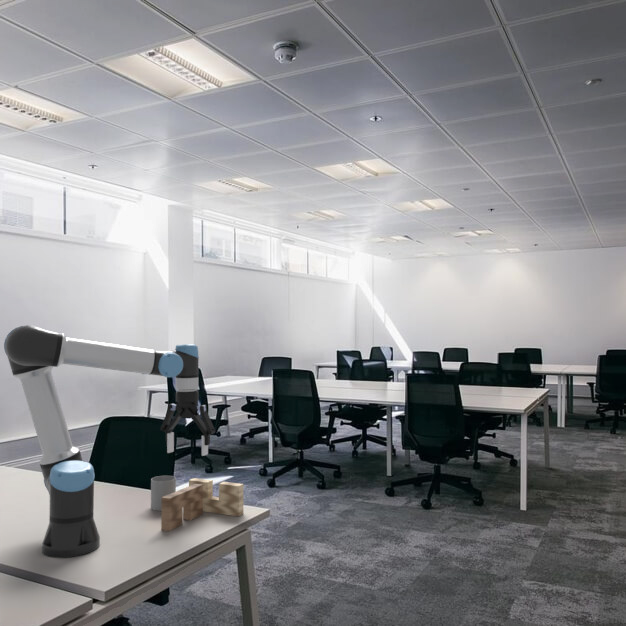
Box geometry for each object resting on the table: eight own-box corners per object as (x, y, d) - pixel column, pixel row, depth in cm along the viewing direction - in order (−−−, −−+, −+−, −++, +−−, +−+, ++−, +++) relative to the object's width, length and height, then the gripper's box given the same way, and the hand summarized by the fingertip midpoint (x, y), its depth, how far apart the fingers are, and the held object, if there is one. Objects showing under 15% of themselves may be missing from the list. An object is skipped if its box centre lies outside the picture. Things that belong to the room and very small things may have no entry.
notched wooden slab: (243, 513, 199) (243, 484, 199) (238, 516, 196) (238, 486, 197) (193, 506, 207) (194, 478, 207) (188, 509, 204) (188, 480, 205)
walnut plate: (195, 513, 199) (195, 483, 200) (202, 514, 198) (202, 484, 198) (161, 529, 183) (161, 497, 183) (169, 531, 182) (169, 498, 182)
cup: (178, 504, 210) (179, 475, 211) (171, 511, 202) (171, 481, 202) (155, 503, 211) (156, 475, 211) (147, 510, 203) (147, 481, 203)
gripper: (225, 390, 197) (225, 453, 197) (163, 388, 207) (163, 448, 206) (213, 392, 190) (213, 458, 190) (149, 390, 200) (149, 453, 199)
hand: (187, 453), depth 198 cm, fingers open, 13 cm apart
